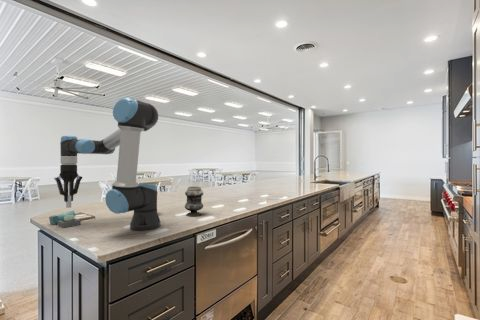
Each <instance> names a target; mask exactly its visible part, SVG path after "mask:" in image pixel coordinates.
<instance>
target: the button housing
mask: <svg viewBox="0 0 480 320" xmlns="http://www.w3.org/2000/svg"><path fill="white" fill-rule="evenodd" d="M56 225H57V227H60V228H63V229H65V228H70V227H74V226H76V227H77V226H79V225H81V221H80V220H79V219H76V218H74V221H70V222H64V220H60V221H57V224H56Z"/></svg>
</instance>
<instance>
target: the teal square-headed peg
mask: <svg viewBox="0 0 480 320" xmlns="http://www.w3.org/2000/svg"><path fill="white" fill-rule="evenodd" d="M75 213H76V211H75V210H71V211H68V212H64V213H61V214H57V215H55V214H53V215H50V216H49V217H48V218H49V223H50V225H57V221H60V220H64V216H66V215H74V217H75V216H76V214H75Z"/></svg>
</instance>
